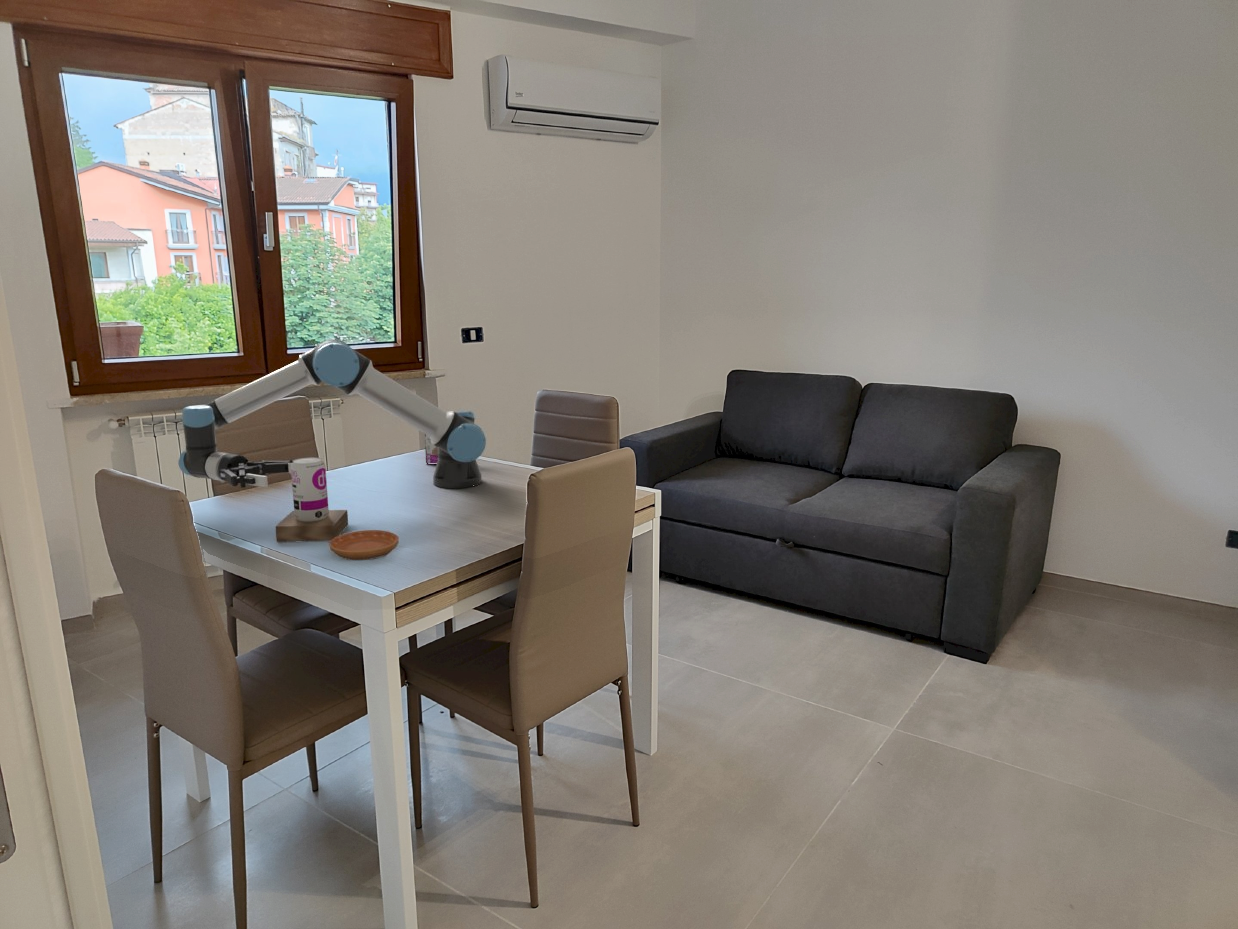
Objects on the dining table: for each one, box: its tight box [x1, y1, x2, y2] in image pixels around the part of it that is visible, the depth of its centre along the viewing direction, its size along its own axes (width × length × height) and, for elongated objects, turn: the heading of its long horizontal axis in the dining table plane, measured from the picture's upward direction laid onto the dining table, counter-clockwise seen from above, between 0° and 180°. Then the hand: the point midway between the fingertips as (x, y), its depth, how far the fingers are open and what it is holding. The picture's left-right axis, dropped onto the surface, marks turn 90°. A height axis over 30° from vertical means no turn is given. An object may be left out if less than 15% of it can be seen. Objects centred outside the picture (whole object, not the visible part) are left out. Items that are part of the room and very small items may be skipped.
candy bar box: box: [424, 434, 438, 464], centre depth 287 cm, size 11×5×16 cm, turn 84°
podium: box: [274, 509, 349, 543], centre depth 209 cm, size 14×14×4 cm
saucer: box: [328, 529, 400, 561], centre depth 196 cm, size 16×16×3 cm
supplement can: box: [290, 457, 330, 522], centre depth 207 cm, size 8×8×15 cm
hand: (287, 476), depth 209 cm, fingers open, 13 cm apart
